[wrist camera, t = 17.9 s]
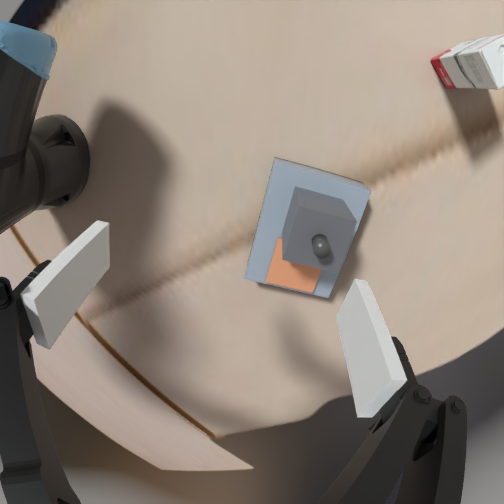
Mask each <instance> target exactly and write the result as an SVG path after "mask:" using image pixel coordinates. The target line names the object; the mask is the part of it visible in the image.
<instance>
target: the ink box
mask: <svg viewBox="0 0 504 504" xmlns="http://www.w3.org/2000/svg"><path fill="white" fill-rule="evenodd" d="M431 62H432V64H433V66H434V68H435V69H436V71H437V73H438V75H439V76H440V78H441V80H442V81H443V83H444V85H445V86H446V88H447V89H448V88H478V89H496V90H499V89H500V88H502V87H503V86H504V35H498V36H492V37H486V38H481V39H476V40H471V41H466V42H463V43H461V44H459V45H457V46H455V47H453V48H451V49H449V50H447V51H445V52H444V53H442V54H440V55H438V56H436V57H434V58H432V59H431Z"/></svg>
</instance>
